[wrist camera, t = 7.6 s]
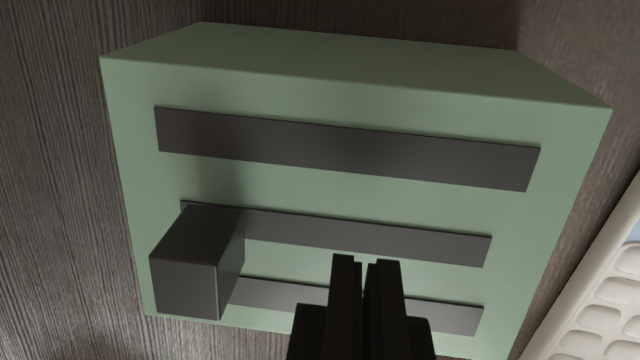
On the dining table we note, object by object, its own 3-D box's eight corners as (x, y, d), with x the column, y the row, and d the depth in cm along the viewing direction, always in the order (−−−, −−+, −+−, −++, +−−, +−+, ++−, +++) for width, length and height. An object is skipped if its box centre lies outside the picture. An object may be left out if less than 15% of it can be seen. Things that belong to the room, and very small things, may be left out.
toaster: (212, 208, 23) (142, 317, 16) (200, 20, 19) (95, 56, 11) (462, 238, 22) (506, 367, 15) (517, 50, 18) (618, 108, 11)
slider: (198, 243, 14) (155, 313, 11) (194, 192, 13) (146, 256, 10) (250, 249, 14) (220, 322, 11) (249, 199, 13) (216, 264, 10)
